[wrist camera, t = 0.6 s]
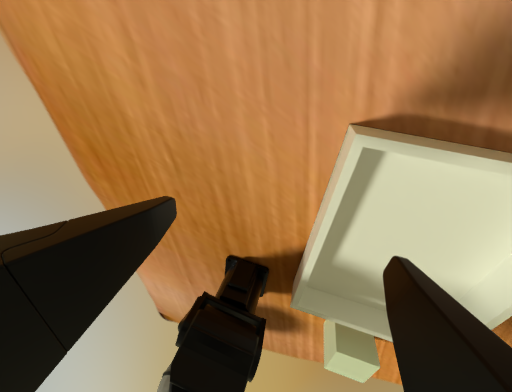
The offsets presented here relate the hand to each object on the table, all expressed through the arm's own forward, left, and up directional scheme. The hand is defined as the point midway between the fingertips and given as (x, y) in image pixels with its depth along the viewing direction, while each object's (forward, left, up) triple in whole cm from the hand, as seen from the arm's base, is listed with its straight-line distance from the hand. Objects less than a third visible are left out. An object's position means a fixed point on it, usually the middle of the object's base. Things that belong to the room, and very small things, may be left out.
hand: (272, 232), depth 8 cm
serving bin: (-8, -13, -14) cm, 21 cm away
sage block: (-24, -13, -14) cm, 31 cm away
